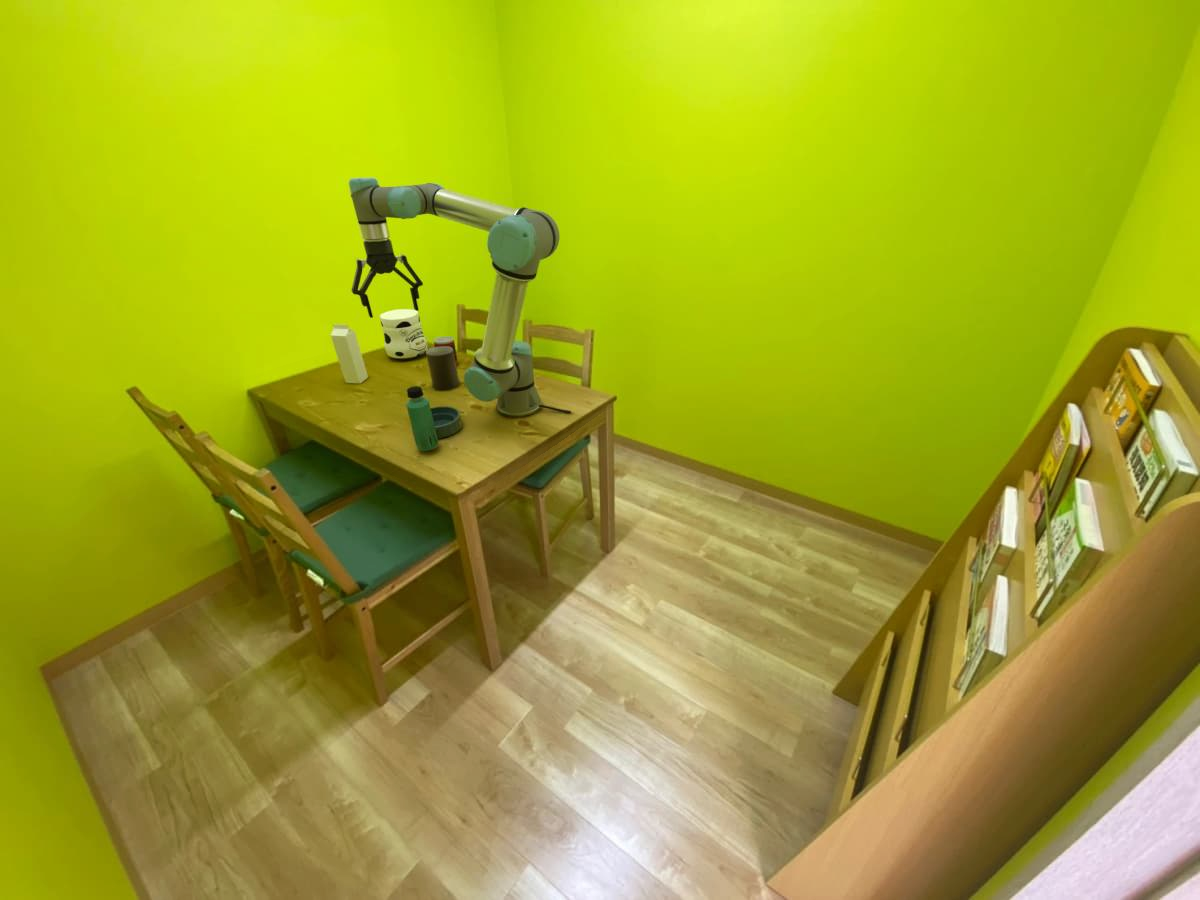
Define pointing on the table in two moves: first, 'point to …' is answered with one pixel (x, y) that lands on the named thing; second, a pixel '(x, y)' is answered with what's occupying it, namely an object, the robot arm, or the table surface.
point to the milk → (348, 354)
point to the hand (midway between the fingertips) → (394, 313)
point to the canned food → (446, 344)
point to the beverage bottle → (421, 419)
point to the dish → (446, 420)
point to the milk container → (403, 334)
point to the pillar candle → (442, 368)
